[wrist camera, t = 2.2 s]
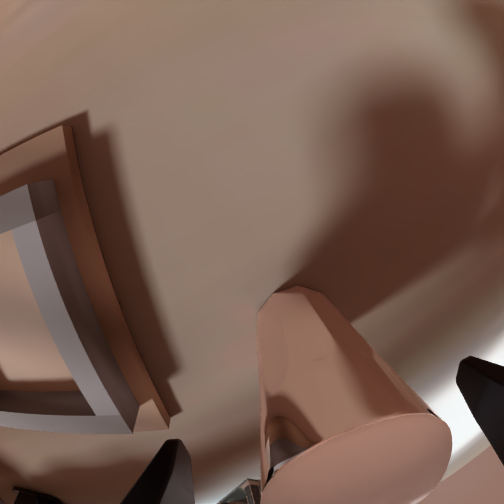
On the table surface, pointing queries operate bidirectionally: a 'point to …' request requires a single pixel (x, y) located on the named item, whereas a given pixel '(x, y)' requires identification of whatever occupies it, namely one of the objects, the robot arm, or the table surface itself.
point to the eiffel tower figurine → (244, 493)
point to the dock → (62, 306)
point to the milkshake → (338, 413)
